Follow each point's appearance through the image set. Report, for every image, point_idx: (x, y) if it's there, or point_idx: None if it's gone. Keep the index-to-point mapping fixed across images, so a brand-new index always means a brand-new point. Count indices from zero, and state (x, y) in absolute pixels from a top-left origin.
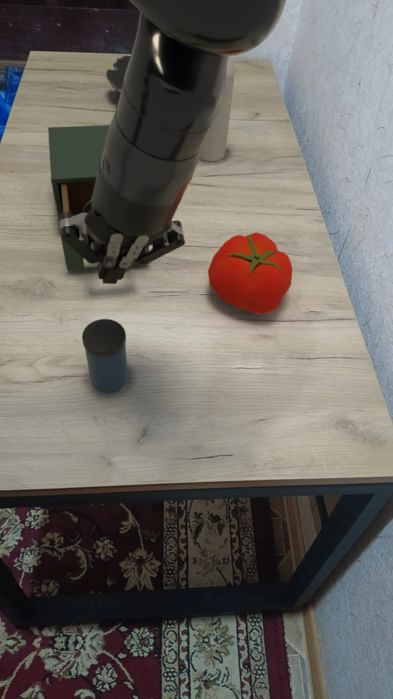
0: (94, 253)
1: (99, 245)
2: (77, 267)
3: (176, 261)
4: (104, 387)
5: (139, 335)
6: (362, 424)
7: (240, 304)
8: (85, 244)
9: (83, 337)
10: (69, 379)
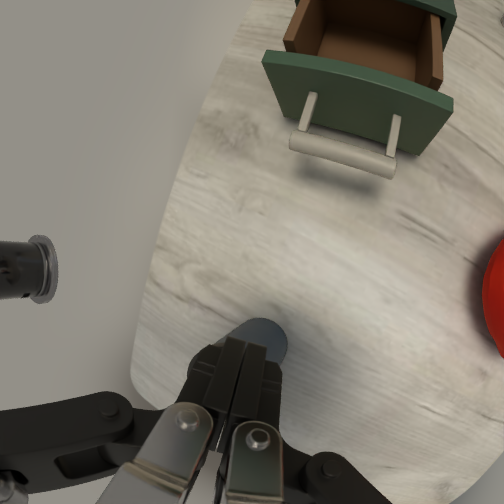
0: (104, 474)
1: (131, 453)
2: (299, 117)
3: (459, 169)
4: None
5: (339, 293)
6: (453, 488)
7: (494, 339)
8: (50, 487)
9: (189, 369)
10: (212, 315)
